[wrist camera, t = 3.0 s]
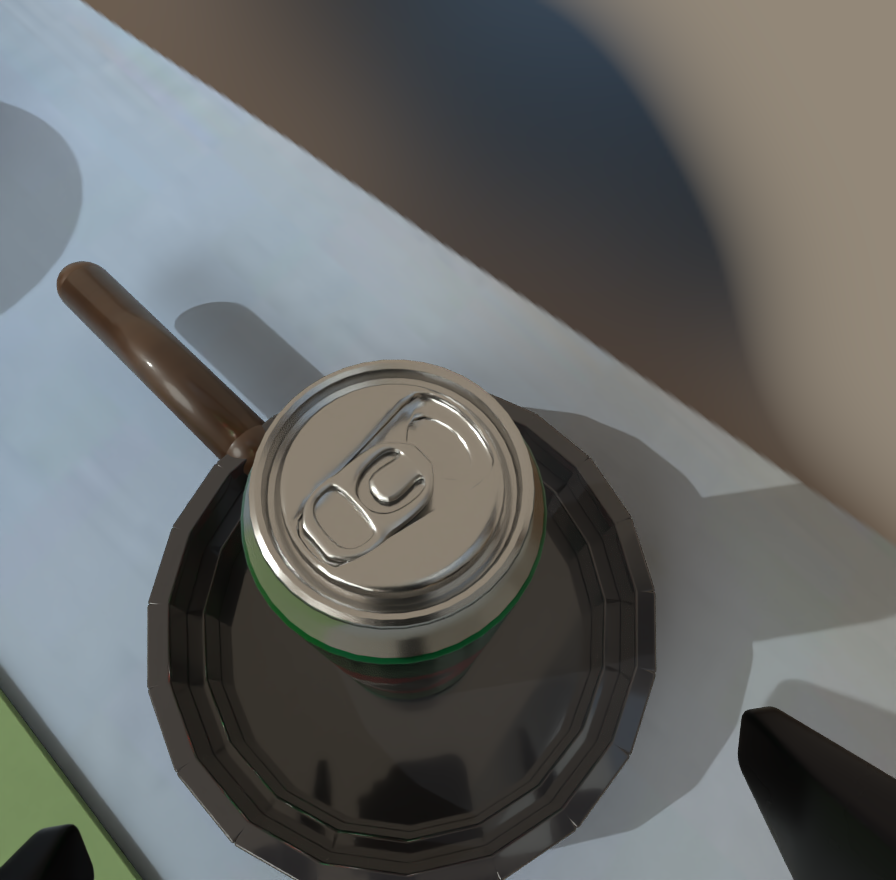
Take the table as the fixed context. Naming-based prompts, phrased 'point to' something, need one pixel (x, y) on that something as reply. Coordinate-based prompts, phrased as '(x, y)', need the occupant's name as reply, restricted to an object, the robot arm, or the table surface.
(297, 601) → the soda can
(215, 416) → the pan handle
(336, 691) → the pan
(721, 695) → the table surface
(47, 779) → the napkin
